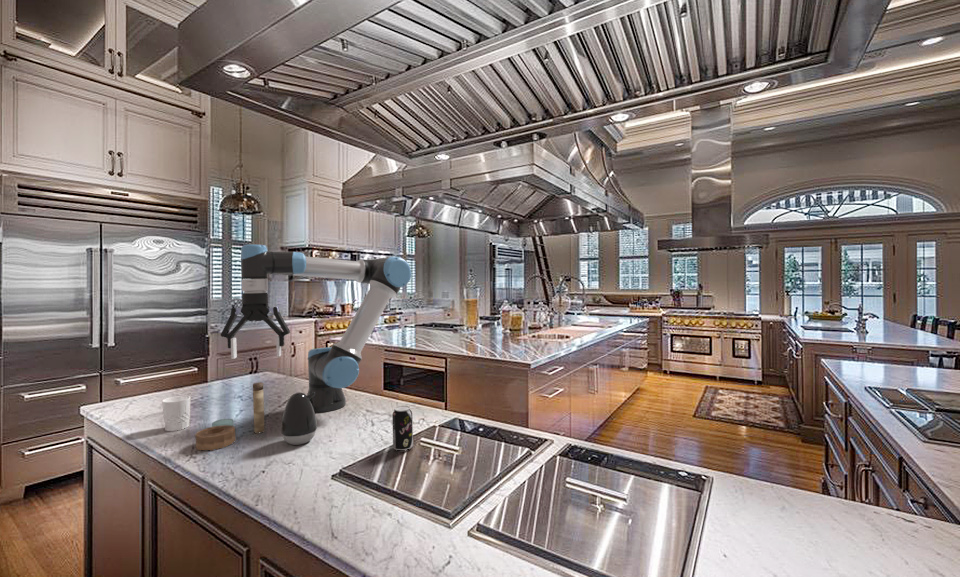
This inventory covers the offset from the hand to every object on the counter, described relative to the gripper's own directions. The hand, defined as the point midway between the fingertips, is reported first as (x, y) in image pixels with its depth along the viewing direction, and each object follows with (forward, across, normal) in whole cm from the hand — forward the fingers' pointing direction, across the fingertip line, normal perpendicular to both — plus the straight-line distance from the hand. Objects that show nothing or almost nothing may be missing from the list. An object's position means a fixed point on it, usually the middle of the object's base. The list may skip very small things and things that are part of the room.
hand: (256, 357), depth 140 cm
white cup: (+25, -29, +11) cm, 40 cm away
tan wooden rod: (+25, 0, 0) cm, 25 cm away
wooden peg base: (+25, -10, -8) cm, 28 cm away
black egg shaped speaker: (+25, +15, -12) cm, 31 cm away
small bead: (+25, -12, +3) cm, 28 cm away
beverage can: (+25, +46, -25) cm, 58 cm away
